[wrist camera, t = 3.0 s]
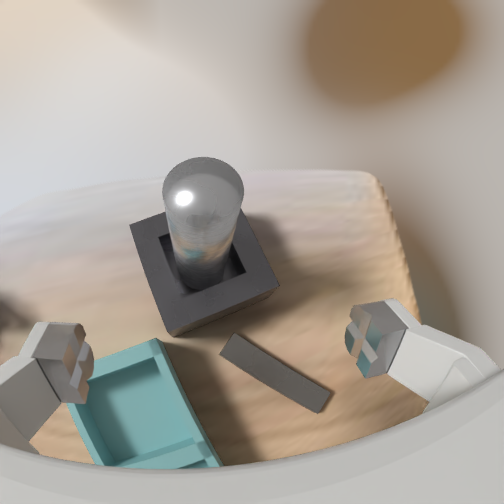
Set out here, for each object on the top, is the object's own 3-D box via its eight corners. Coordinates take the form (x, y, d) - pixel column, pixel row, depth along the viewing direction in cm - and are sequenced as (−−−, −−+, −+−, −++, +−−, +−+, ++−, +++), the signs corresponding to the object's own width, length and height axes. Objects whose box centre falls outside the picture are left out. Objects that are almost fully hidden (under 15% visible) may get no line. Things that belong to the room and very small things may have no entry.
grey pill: (232, 279, 25) (257, 209, 14) (188, 297, 24) (177, 237, 13) (213, 239, 26) (225, 149, 15) (171, 254, 25) (153, 170, 14)
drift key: (325, 391, 24) (330, 392, 23) (312, 412, 23) (317, 413, 22) (232, 333, 25) (234, 332, 24) (218, 354, 24) (219, 354, 23)
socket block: (268, 297, 26) (279, 285, 23) (172, 337, 24) (167, 332, 20) (227, 212, 29) (231, 189, 25) (138, 244, 26) (129, 224, 22)
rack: (249, 505, 19) (265, 542, 12) (160, 532, 16) (151, 572, 10) (162, 341, 23) (147, 332, 17) (72, 374, 21) (33, 373, 14)
